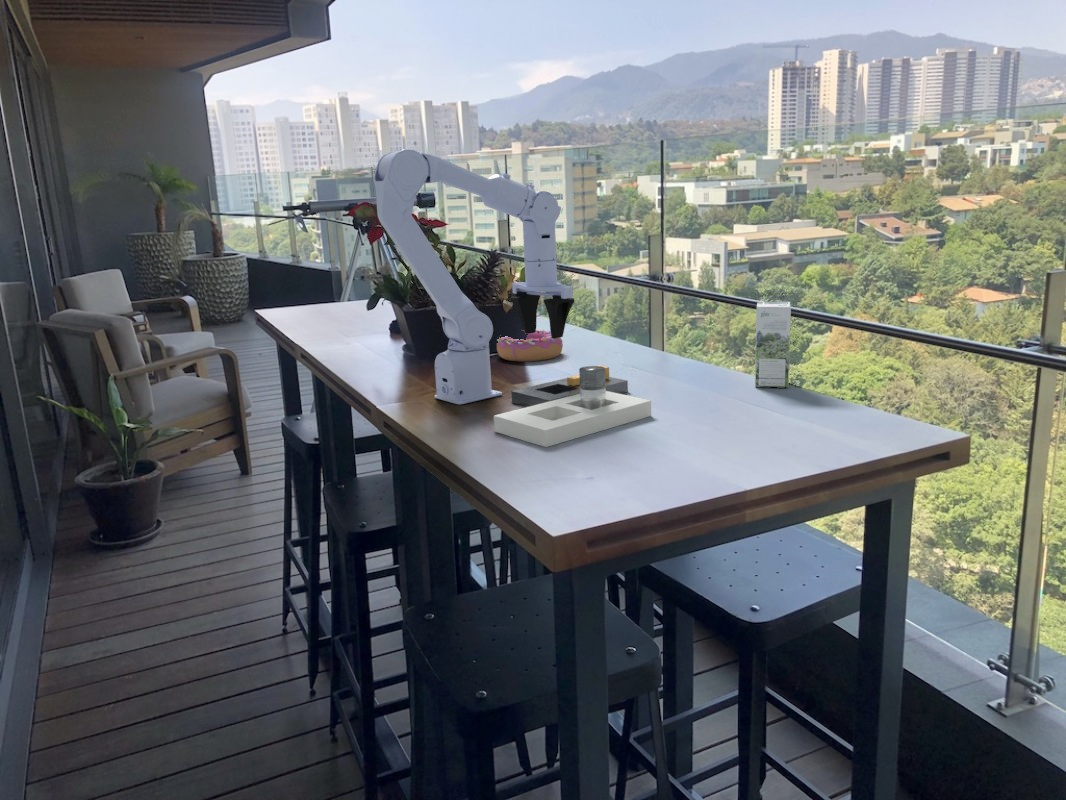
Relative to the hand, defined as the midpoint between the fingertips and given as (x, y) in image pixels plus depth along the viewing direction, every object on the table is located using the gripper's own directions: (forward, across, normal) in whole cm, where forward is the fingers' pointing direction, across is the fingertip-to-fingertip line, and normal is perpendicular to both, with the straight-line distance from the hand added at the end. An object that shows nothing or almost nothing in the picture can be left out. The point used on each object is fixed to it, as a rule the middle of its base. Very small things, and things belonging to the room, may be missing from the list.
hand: (543, 335), depth 158 cm
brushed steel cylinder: (+9, -23, +10) cm, 27 cm away
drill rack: (+9, -23, +14) cm, 29 cm away
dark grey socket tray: (+9, -10, +3) cm, 14 cm away
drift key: (+7, -10, -1) cm, 12 cm away
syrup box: (+10, -31, -26) cm, 42 cm away
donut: (+10, +24, -16) cm, 30 cm away
